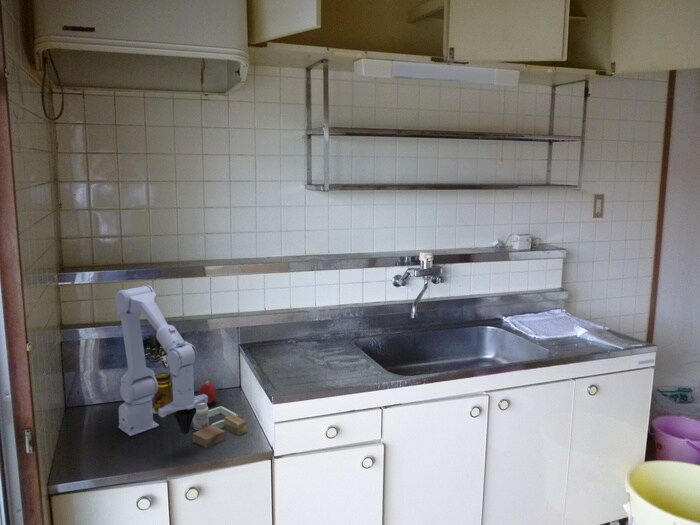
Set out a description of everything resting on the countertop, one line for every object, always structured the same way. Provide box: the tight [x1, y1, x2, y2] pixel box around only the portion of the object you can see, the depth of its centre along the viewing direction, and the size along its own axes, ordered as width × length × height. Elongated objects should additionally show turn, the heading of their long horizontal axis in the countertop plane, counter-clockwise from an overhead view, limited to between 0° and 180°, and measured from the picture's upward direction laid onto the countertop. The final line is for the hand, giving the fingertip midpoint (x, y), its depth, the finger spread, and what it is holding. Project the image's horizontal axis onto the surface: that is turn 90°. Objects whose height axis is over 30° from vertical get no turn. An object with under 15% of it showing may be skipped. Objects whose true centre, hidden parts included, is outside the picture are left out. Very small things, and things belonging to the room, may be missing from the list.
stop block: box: [224, 414, 247, 436], centre depth 182 cm, size 3×7×4 cm, turn 47°
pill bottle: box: [192, 403, 210, 431], centre depth 183 cm, size 5×5×8 cm
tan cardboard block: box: [192, 424, 226, 449], centre depth 175 cm, size 7×6×3 cm
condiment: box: [153, 372, 173, 414], centre depth 195 cm, size 7×8×12 cm
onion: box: [198, 380, 217, 405], centre depth 199 cm, size 6×6×8 cm
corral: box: [208, 405, 240, 429], centre depth 188 cm, size 10×10×2 cm
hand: (184, 432), depth 169 cm, fingers closed
